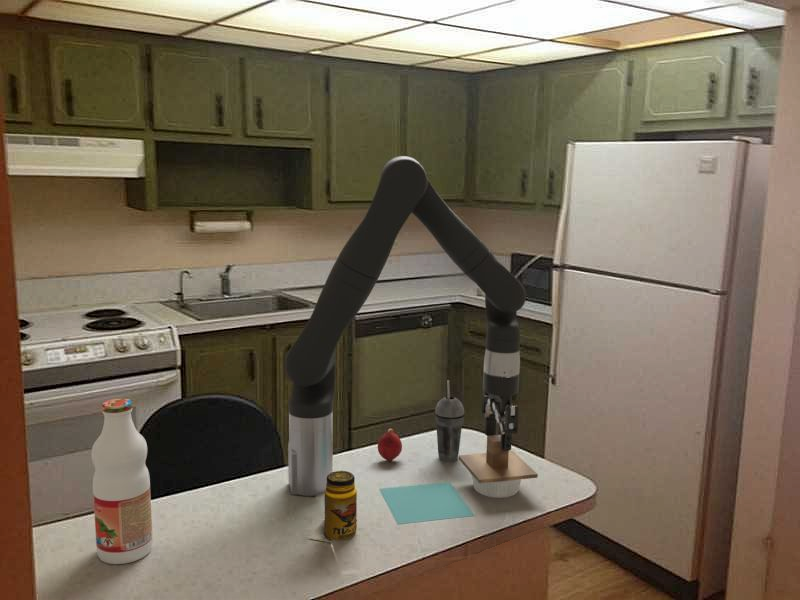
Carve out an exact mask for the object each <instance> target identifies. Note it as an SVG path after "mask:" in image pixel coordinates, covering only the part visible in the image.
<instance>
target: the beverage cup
mask: <svg viewBox="0 0 800 600" xmlns="http://www.w3.org/2000/svg"><path fill="white" fill-rule="evenodd" d="M446 383H447V385H446V388H447V390H446V391H447V396H445V397H442V398H441V399H439V401H438V402H437V403H436V406H435V409H434V419H435V423H436V439H437V440H436V441H437V442H436V443H437V454H438V458H439V460H440V461H443V462H455V461H457V460H459V453H460V446H461V444H460V443H461V438H462V437H461V435H462V427H463V424H464V421H465V415H466V414H465V413H466V412H465V409H464V404H463V403H462V402H461V401H460V400H459V399H458V398H456V397H454V396H450V395H451V393H450V380H447V381H446Z"/></svg>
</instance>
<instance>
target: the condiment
mask: <svg viewBox="0 0 800 600" xmlns="http://www.w3.org/2000/svg"><path fill="white" fill-rule="evenodd" d="M326 480H327V484H326V489H325V492H324V519H323V521H321V523H320V525H318V527H317V528H316V529H315V530H314V532H312V533H311V535H309V537H308V538H307V539H308V540H314V541H320V542H326V543H330V544H333V540H335V541H343V540H349V539H351V538H353V537H354V536H355V535H356V533H357V530H358V529H357V527H358V526H357V525H358V524H357V522H358V519H357V516H358V513H357V512H358V511H357V510H358V509H357V508H358V507H357V499H358V498H357V497H358V494H357V493H358V490H357V488H356V482H355V475H354V474H353V473H352V472H350V471H346V470H336V471H333V472H332V473H330V474H329V475H328V476H327V479H326ZM323 535H324V536H323Z"/></svg>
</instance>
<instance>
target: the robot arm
mask: <svg viewBox="0 0 800 600" xmlns="http://www.w3.org/2000/svg"><path fill="white" fill-rule="evenodd" d="M427 175H428V174H427V172H426V169H425V167H424V166H423V165H422V164H421V163H420V162H419V161H418V160H417V159H415V158H413V157H410V156H408V155H407V156H405V155H403V156H402V155H400V156H395V157H393V158H391V159H390V160H388V161H387V162H386V163H385V164H384V166H383V167H382V170H381V173H380V178H379V183H378V186H377V188H376V191H375V194H374V196H373V198H372V200H371V203H370V205H369V208H368V210H367V212H366V214H365V216H364V217H363V219H362V221H361V222H360V224H359V225H358V226H357V227H356V229H354V230H355V231H354V232H353V233H352V234H351V235H350V236H349V238H348V240H347V241H346V243H345V244H344V245H343V247H342V250H340V252H339V255H338V257H337V258H336V260H335V262H334V264H333V265H332V268H331V270H330V272H329V274H328V276H327V278H326V281H325V283H324V285H323V287H322V289H321V292H320V294H319V296H318V299H317V301H316V304H315V307H314V308H313V311H312V313H311V315H310V318H309V319H308V321H307V323H306V325H305V326H304V328H302V330H301V332H300V334H299V336H298V337H297V338H296V340H295V341H294V343H293V344H292V346H291V347H290V348H289V350H288V351H287V353H286V356H285V360H284V369H285V374H286V375H287V377H288V379H289V380H290V381H291V382H292V389H291V392H290V397H289V400H288V425H289V426H288V432H289V435H288V436H289V439H288V443H287V447H288V448H287V449H288V452H287V453H288V454H287V455H288V456H287V457H288V458H287V459H288V460H287V462H288V470H287V471H288V472H287V473H288V485H289V490H290V494H291V495H298V496H303V497H304V496H306V497H313V496H317V495H319V494H325V489H326V484H327V480H326V479H327V476H328V475H329V474H330V473H332V472H334V471H333V465H334V464H333V458H334V457H333V456H334V455H333V445H334V444H333V438H334V437H333V432H334V431H333V422H334V421H333V417H334V416H333V414H334V413H333V409H334V408H333V407H334V406H333V405H334V404H333V403H334V398H335V394H336V393H335V390H336V388H335V387H336V355H335V350H336V348H337V346H338V344H339V341H340V339H341V337H342V335H343V333H344V332H345V330H346V329H347V328H348V327H349V325H350V324H351V322H352V321H353V320H354V318H355V317H356V315H358V313H359V311H360V310H361V309H362V307H363V306H364V304H365V302H366V301H367V299H368V298H369V296H370V294H371V293H372V291H373V290H374V287H375V286H376V283H377V282H378V280H379V278H380V276H381V274H382V271H383V269H384V267H385V265H386V263H387V261H388V259H389V256H390V254H391V252H392V248H393V246H394V244H395V241H396V240H397V236H398V235H399V233H400V231H401V230H402V228H403V226H404V224H405V223H406V222H407V220H408V219H409V217H410V216H411V214H413V215H414V216H415V217H416V218H417V219H418V220H419V221H420V222H421V224H422V225H424V227H425V228H426V229H427V231H429V233H430V234H431V235H432V236H433V238H434V239H435V241H437V243H438V244H439V246H440V247H441V248H442V249H443V251H444V252H445V254H447V256H448V257H449V258H450V259H451V261H453V263H454V264H455V265H456V266H457V267H458V269H460V270H461V272H462V273H463V274H464V275H465V276H466V277H467V278H468V279H469V280H470V281H473V282H474V283H475V284H476V285H477V286H478V288H479V289H480V290H481V291H482V292H483V294H484V300H485V301H484V304H485V306H484V307H485V316H486V325H487V326H486V336H485V337H486V338H485V353H484V357H483V359H484V361H483V377H482V378H483V380H482V398H481V399H482V400H481V413H482V414H484V416H483V417H484V420H485V430H484V431H485V433H484V434H485V436H486V437H487V436H492V435H497V433H496V432H497V425H499V428H500V435H501V441H500V449H501V450H502V451H512V441H513V440H512V438H513V435H518V433H519V405H513V403H512V397H513V396H514V395H516V394H518V393H519V387H520V384H519V383H520V367H521V357H520V346H521V345H520V344H521V328H520V325H519V323H518V319H517V314H518V313H517V312H518V311H520V310H521V309H522V308H523V306H524V305H525V303H526V301H527V299H526V298H527V292H526V289H525V286H523V284H522V283H521V281H519V279H518V278H517V277H516V276H514V274H513V273H512V272H510V270H509V269H507V268H506V266H504V265H503V264H502V263H501V262H500V261H499V260H498V259H497V257H496V256H495V255H494V254H493V252H492V251H491V249H489V247H488V246H487V245H486V244H485V243H484V242H483V240H482V239H480V237H479V236H477V234H476V233H475V232H474V231H473V229H471V228H470V226H468V225H467V224H466V223H465V222H464V221H463V220H462V219H461V218H460V217H459V215H457V214H456V213H455V212H454V211H453V210H452V209H451V207H449V206H448V204H447V203H446V202H445V200H444V199H442V197H441V196H440V195H439V193H438V192H437V191H436V189H435V187H434V186H433V184H432V183H431V181H430V179H429V178H428V176H427Z"/></svg>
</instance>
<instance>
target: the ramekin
mask: <svg viewBox="0 0 800 600" xmlns="http://www.w3.org/2000/svg"><path fill="white" fill-rule="evenodd" d="M471 478H472V486H473V489H474V490H475V491H476V492H477V493H479V494H480V495H483V496H486V497H490V498H496V499H498V498H500V499H501V498H503V499H504V498H509V497H512V496H515V495H516V494H517V493H518V491H519V489H520V486H521V481H522V479H519V480H509V481H499V482H489V483H479V482H478V481H477V480H476V479H475V478H474V477H473V475H472V474H471Z"/></svg>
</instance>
